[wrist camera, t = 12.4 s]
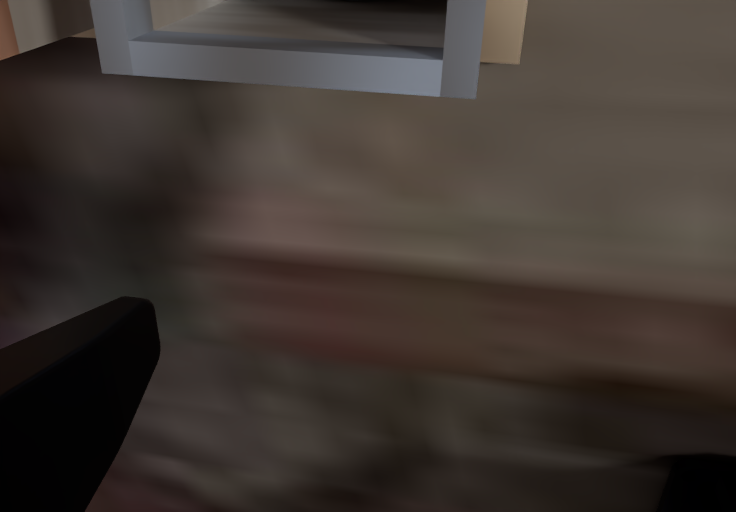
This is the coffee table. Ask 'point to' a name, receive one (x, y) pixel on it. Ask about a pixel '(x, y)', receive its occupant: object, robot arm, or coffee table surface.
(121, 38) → the box
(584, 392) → the coffee table surface
